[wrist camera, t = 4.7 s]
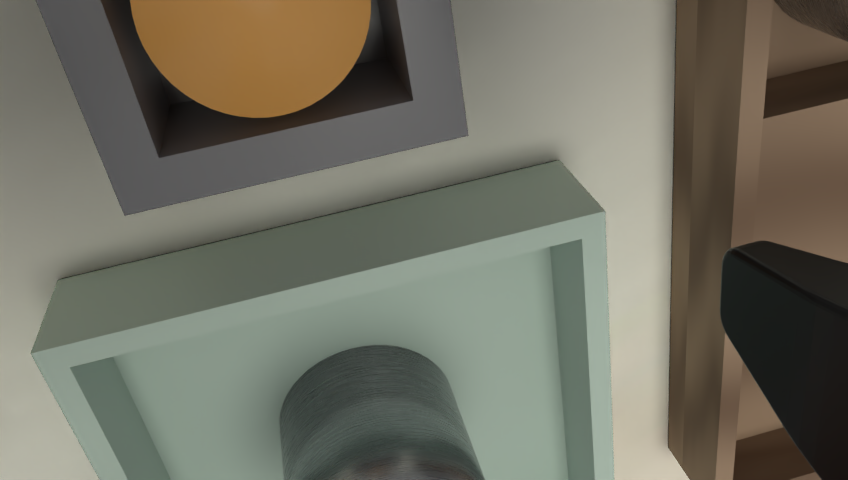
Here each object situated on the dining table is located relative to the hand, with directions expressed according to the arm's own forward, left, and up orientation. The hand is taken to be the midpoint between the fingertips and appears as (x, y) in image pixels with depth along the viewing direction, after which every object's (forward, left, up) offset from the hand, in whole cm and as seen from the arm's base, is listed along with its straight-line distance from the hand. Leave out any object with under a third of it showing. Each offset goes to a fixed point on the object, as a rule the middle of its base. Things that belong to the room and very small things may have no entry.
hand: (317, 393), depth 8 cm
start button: (+2, 0, -11) cm, 11 cm away
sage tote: (-11, 0, -12) cm, 16 cm away
